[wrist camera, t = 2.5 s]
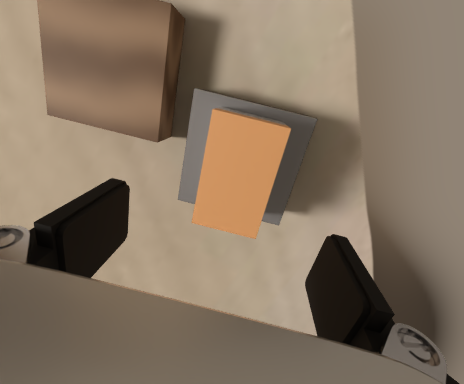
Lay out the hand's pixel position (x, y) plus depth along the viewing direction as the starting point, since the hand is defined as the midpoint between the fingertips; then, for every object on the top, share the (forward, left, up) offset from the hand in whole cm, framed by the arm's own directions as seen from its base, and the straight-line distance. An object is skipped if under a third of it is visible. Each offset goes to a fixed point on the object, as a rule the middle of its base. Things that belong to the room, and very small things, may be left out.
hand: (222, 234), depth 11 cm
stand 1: (+6, +15, -18) cm, 24 cm away
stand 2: (0, 0, -18) cm, 18 cm away
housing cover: (0, 0, -11) cm, 11 cm away
